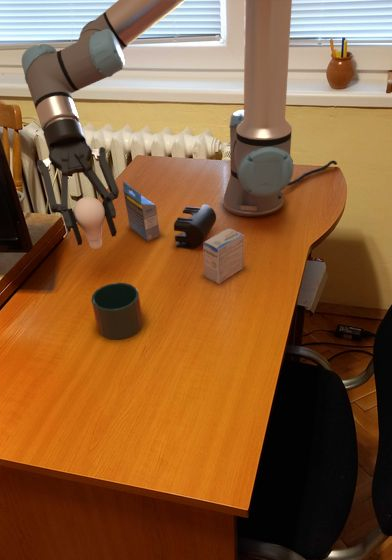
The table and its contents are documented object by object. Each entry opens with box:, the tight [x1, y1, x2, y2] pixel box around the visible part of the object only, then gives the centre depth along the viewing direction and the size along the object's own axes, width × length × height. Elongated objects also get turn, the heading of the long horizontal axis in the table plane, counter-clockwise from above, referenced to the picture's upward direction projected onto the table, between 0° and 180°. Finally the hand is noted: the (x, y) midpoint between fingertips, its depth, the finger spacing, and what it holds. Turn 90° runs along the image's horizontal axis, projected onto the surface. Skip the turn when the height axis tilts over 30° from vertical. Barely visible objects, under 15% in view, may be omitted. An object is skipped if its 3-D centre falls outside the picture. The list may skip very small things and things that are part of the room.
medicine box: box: [202, 227, 245, 285], centre depth 116 cm, size 8×4×9 cm, turn 134°
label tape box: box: [122, 180, 161, 242], centre depth 130 cm, size 9×4×12 cm, turn 34°
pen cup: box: [91, 282, 144, 341], centre depth 105 cm, size 9×9×7 cm
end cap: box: [173, 203, 217, 250], centre depth 128 cm, size 10×7×7 cm
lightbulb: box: [72, 196, 106, 250], centre depth 109 cm, size 6×6×11 cm
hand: (97, 238), depth 107 cm, fingers closed on lightbulb, 6 cm apart
